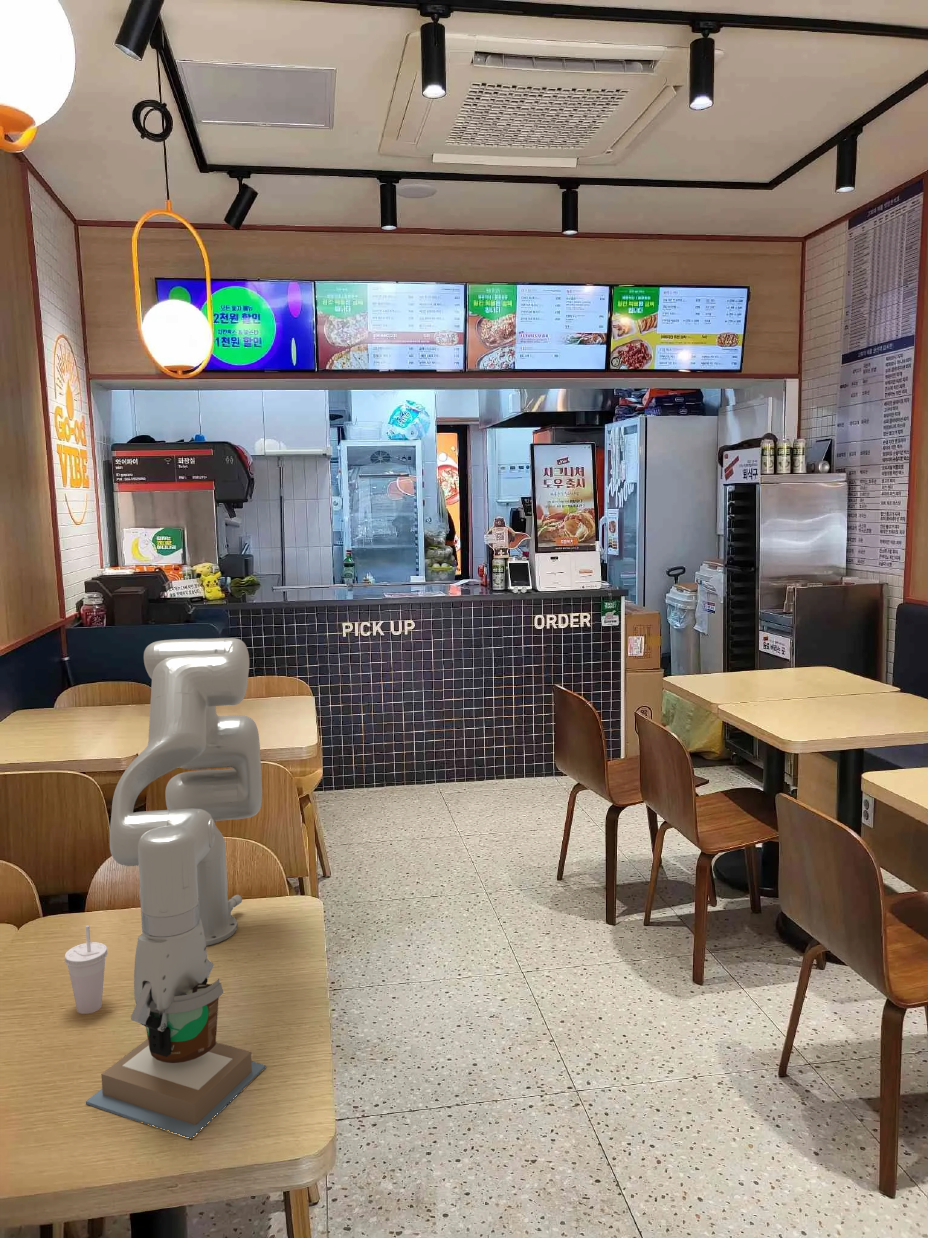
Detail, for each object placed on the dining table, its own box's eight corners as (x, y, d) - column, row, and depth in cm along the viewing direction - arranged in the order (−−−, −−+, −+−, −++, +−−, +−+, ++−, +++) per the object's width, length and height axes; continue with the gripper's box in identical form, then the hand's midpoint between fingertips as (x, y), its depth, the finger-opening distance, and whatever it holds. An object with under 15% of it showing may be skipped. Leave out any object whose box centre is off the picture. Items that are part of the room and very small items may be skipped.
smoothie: (95, 1021, 140) (89, 937, 138) (59, 1016, 141) (53, 933, 139) (118, 999, 146) (114, 918, 144) (84, 995, 147) (79, 915, 145)
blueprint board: (167, 1039, 134) (166, 1018, 134) (266, 1068, 127) (265, 1045, 127) (85, 1104, 120) (84, 1080, 119) (191, 1140, 113) (190, 1115, 112)
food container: (121, 1064, 121) (117, 995, 119) (144, 1037, 127) (141, 972, 125) (205, 1072, 118) (202, 1003, 117) (225, 1045, 125) (222, 979, 123)
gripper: (191, 888, 130) (196, 1003, 132) (101, 941, 114) (109, 1070, 117) (232, 897, 127) (237, 1014, 129) (146, 952, 111) (153, 1084, 114)
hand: (176, 1039), depth 123 cm, fingers closed on food container, 5 cm apart
